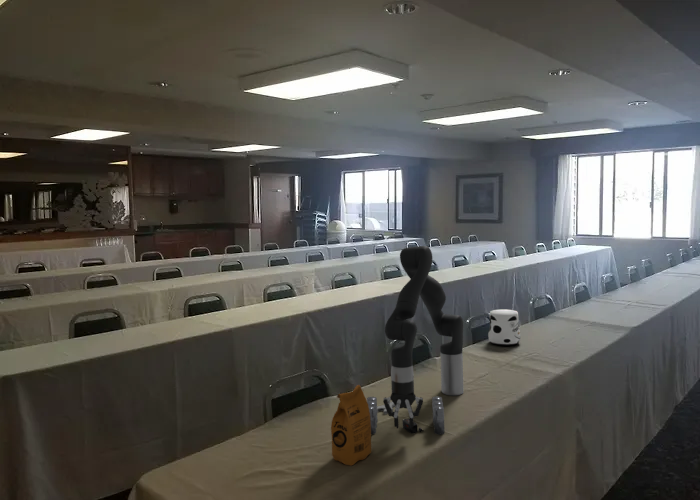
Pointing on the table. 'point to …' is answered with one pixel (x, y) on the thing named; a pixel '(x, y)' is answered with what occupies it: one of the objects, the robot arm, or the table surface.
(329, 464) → the table surface
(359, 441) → the coffee package
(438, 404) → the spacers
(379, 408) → the adjustable wrench
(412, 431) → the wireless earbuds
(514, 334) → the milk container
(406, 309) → the robot arm
